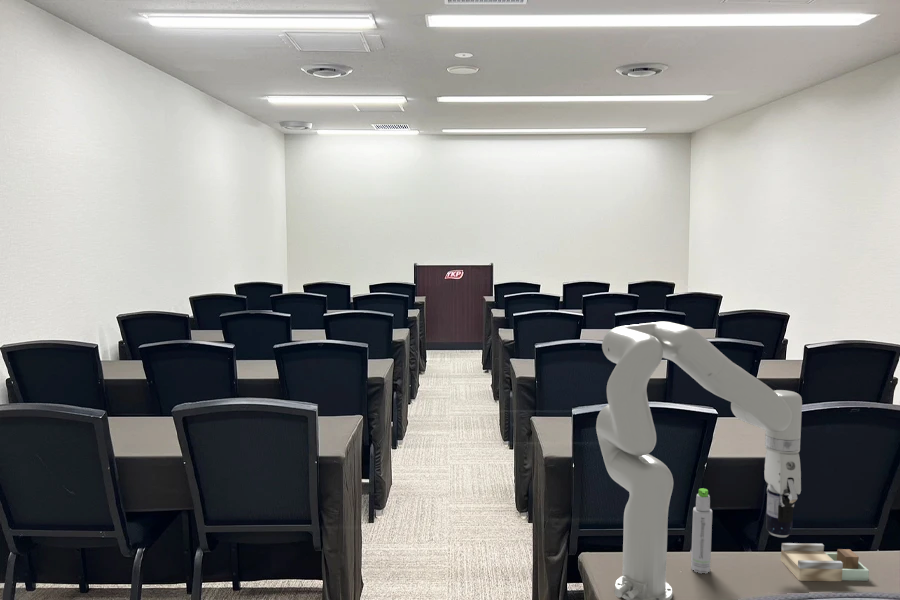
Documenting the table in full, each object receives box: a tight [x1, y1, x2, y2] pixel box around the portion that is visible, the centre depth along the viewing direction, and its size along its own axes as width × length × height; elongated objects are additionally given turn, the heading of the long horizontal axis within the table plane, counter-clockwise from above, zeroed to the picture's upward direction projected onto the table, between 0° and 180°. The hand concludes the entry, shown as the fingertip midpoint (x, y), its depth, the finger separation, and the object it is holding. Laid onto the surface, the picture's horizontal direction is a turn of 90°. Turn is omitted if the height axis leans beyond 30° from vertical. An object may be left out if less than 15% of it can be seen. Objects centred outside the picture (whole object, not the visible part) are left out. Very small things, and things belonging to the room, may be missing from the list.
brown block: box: [836, 548, 860, 569], centre depth 170 cm, size 4×4×3 cm
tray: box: [825, 552, 870, 582], centre depth 170 cm, size 6×9×2 cm
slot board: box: [780, 542, 843, 582], centre depth 170 cm, size 10×10×4 cm
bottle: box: [690, 487, 713, 574], centre depth 170 cm, size 4×4×20 cm
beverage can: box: [765, 485, 793, 538], centre depth 169 cm, size 6×6×12 cm
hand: (779, 515), depth 169 cm, fingers closed on beverage can, 5 cm apart
